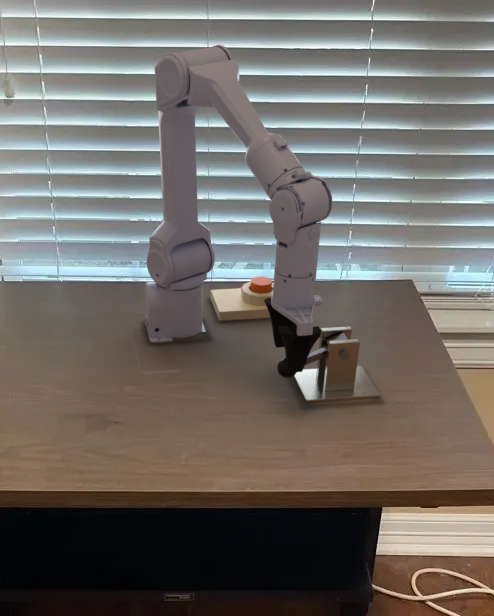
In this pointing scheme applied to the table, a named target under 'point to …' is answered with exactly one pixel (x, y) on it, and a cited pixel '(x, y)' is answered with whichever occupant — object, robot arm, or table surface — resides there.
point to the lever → (311, 357)
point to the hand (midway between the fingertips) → (288, 358)
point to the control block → (240, 303)
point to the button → (261, 285)
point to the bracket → (336, 372)
